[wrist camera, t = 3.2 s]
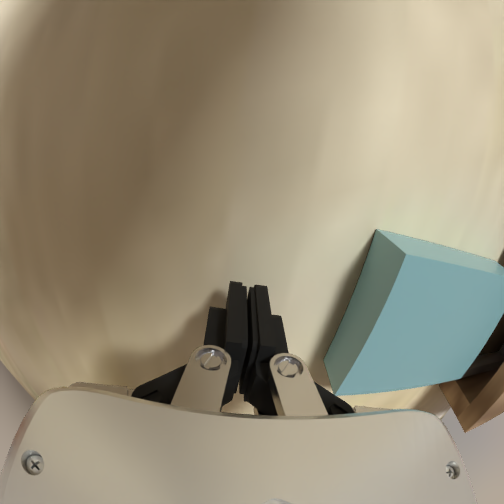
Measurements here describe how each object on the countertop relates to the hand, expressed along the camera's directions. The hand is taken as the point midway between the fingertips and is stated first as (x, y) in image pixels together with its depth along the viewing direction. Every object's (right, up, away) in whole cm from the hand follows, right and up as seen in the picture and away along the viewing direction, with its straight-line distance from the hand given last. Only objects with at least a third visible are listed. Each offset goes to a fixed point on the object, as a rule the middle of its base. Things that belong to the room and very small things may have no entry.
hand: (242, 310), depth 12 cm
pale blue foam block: (+12, -1, +3) cm, 12 cm away
